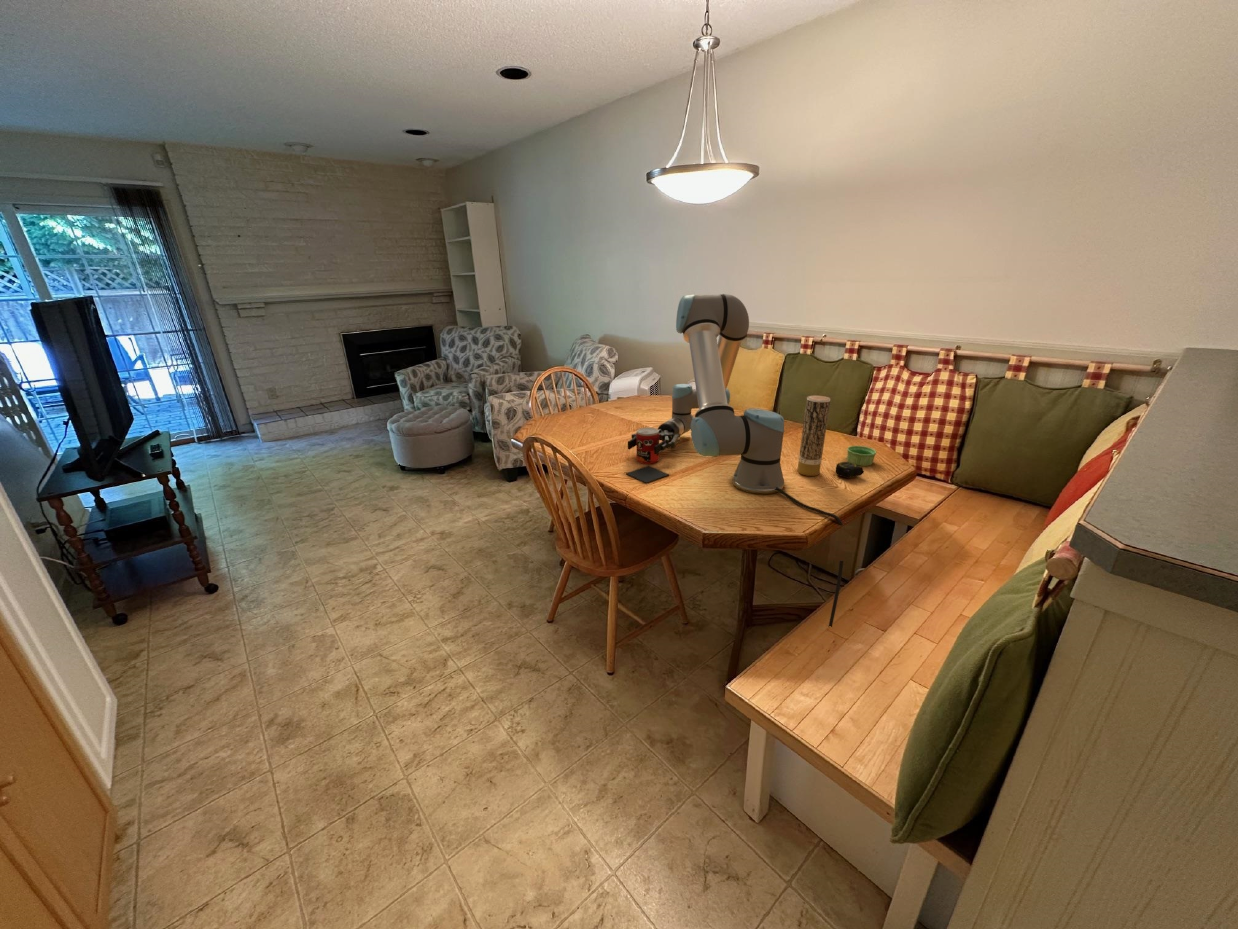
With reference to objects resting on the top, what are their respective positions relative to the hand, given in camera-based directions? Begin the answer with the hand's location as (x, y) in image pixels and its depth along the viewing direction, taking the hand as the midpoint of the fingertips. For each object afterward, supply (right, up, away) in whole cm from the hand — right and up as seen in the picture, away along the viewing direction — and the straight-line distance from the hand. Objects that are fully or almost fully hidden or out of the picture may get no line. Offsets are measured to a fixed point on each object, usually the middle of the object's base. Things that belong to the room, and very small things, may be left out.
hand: (641, 447), depth 164 cm
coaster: (+2, -9, -7) cm, 12 cm away
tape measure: (+66, -10, -11) cm, 67 cm away
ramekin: (+75, -5, +1) cm, 75 cm away
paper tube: (+54, -9, -7) cm, 55 cm away
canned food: (+2, -4, +6) cm, 8 cm away
